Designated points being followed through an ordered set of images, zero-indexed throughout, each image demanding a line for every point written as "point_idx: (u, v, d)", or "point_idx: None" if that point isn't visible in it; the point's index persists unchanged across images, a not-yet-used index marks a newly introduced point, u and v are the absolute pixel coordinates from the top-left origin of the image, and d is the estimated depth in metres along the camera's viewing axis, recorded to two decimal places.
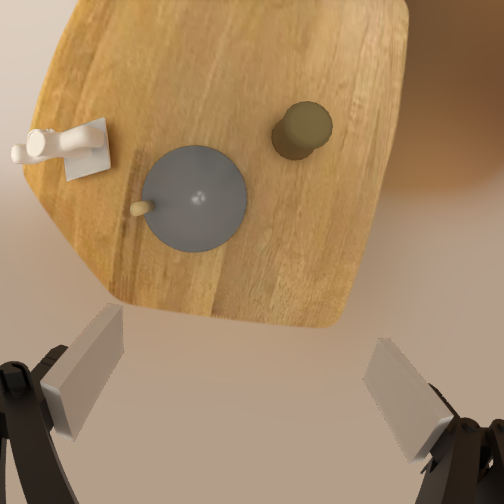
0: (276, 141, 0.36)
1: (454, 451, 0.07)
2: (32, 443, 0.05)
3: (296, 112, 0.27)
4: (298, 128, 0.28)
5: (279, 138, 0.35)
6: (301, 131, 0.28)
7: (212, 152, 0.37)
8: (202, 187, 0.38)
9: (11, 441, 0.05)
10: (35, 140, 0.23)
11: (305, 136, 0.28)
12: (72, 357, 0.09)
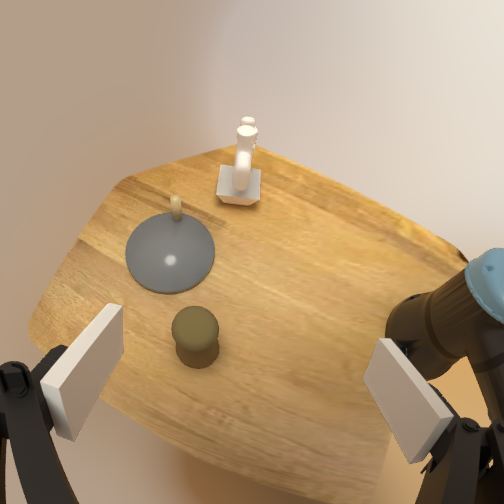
0: None
1: (454, 451, 0.07)
2: (32, 443, 0.05)
3: (207, 315, 0.32)
4: (191, 312, 0.32)
5: None
6: (188, 314, 0.31)
7: (201, 273, 0.45)
8: (175, 258, 0.45)
9: (11, 441, 0.05)
10: (248, 130, 0.42)
11: (182, 317, 0.31)
12: (72, 357, 0.09)
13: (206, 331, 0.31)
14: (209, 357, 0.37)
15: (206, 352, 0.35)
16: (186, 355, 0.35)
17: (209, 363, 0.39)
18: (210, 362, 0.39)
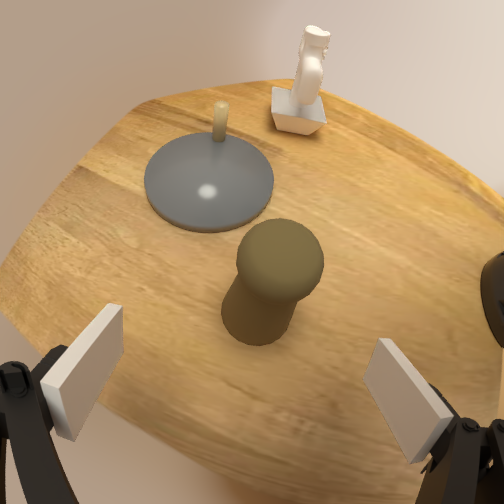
0: None
1: (454, 451, 0.07)
2: (32, 443, 0.05)
3: (306, 232, 0.18)
4: (278, 226, 0.17)
5: None
6: (272, 228, 0.17)
7: (259, 203, 0.31)
8: (218, 183, 0.31)
9: (11, 441, 0.05)
10: (320, 32, 0.28)
11: (262, 232, 0.17)
12: (72, 357, 0.09)
13: (309, 258, 0.17)
14: (285, 323, 0.23)
15: (288, 311, 0.21)
16: (250, 318, 0.21)
17: (278, 336, 0.24)
18: (280, 334, 0.24)
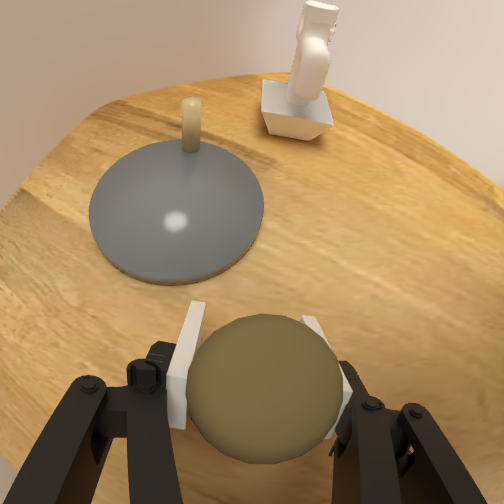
0: None
1: (359, 436, 0.08)
2: (151, 438, 0.07)
3: (315, 346, 0.09)
4: (260, 340, 0.09)
5: None
6: (248, 347, 0.08)
7: (242, 242, 0.22)
8: (186, 213, 0.22)
9: (128, 432, 0.07)
10: (325, 5, 0.19)
11: (228, 356, 0.08)
12: (185, 350, 0.11)
13: (318, 403, 0.08)
14: None
15: None
16: None
17: None
18: None
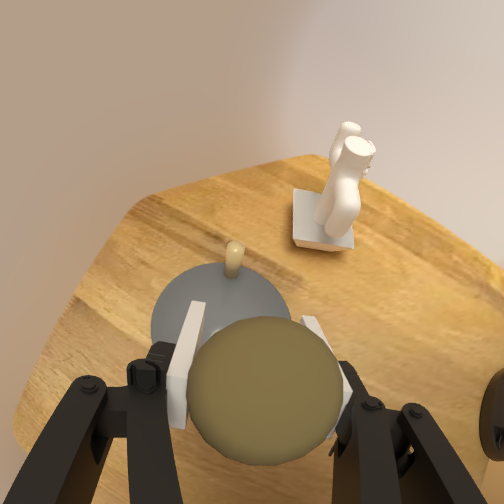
0: None
1: (359, 436, 0.08)
2: (151, 438, 0.07)
3: (315, 348, 0.09)
4: (260, 342, 0.09)
5: None
6: (248, 349, 0.08)
7: None
8: None
9: (128, 432, 0.07)
10: (363, 146, 0.25)
11: (229, 358, 0.08)
12: (185, 350, 0.11)
13: (318, 405, 0.08)
14: None
15: None
16: None
17: None
18: None
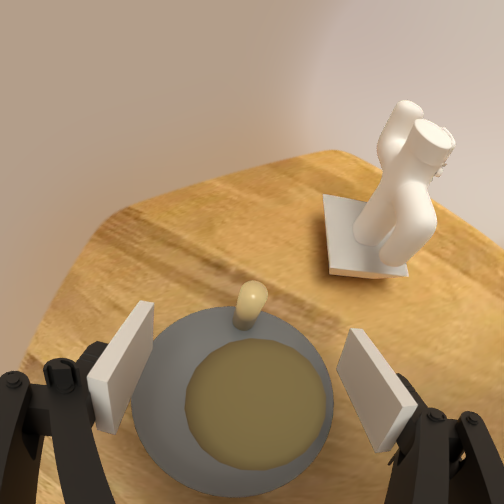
0: None
1: (421, 443, 0.07)
2: (75, 439, 0.06)
3: (300, 370, 0.10)
4: (249, 365, 0.09)
5: None
6: (239, 372, 0.09)
7: (313, 451, 0.17)
8: None
9: (53, 435, 0.06)
10: (439, 134, 0.15)
11: (221, 380, 0.09)
12: (115, 352, 0.10)
13: (301, 422, 0.09)
14: None
15: None
16: None
17: None
18: None
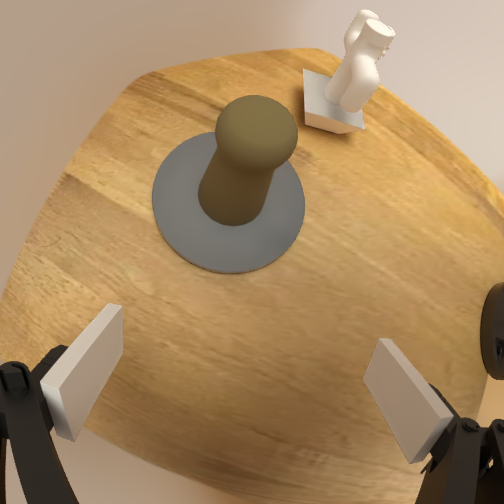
0: None
1: (454, 451, 0.07)
2: (32, 443, 0.05)
3: (282, 108, 0.17)
4: (256, 100, 0.17)
5: None
6: (250, 101, 0.17)
7: (289, 239, 0.27)
8: None
9: (11, 441, 0.05)
10: (383, 28, 0.20)
11: (241, 104, 0.17)
12: (72, 357, 0.09)
13: (283, 128, 0.17)
14: (258, 201, 0.24)
15: (262, 185, 0.21)
16: (225, 191, 0.22)
17: (252, 217, 0.26)
18: (253, 215, 0.26)
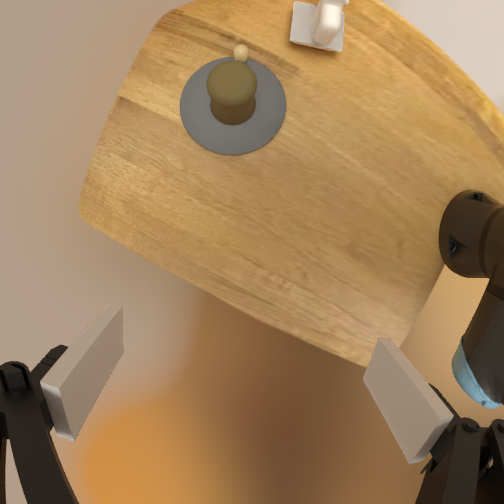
0: None
1: (454, 451, 0.07)
2: (32, 443, 0.05)
3: (245, 69, 0.26)
4: (228, 66, 0.26)
5: None
6: (224, 68, 0.26)
7: (271, 133, 0.38)
8: None
9: (11, 441, 0.05)
10: None
11: (218, 71, 0.26)
12: (72, 357, 0.09)
13: (244, 85, 0.26)
14: (245, 113, 0.34)
15: (243, 108, 0.32)
16: (221, 111, 0.32)
17: (244, 120, 0.36)
18: (246, 119, 0.36)
